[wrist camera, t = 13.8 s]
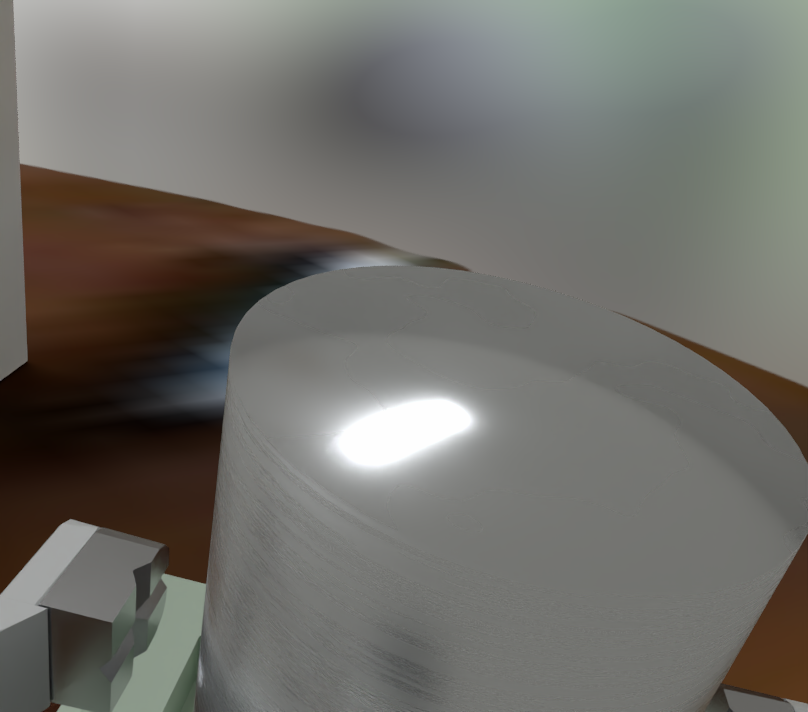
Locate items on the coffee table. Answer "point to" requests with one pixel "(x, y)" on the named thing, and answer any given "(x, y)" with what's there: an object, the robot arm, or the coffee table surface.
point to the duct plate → (167, 655)
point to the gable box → (10, 208)
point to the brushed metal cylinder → (483, 505)
